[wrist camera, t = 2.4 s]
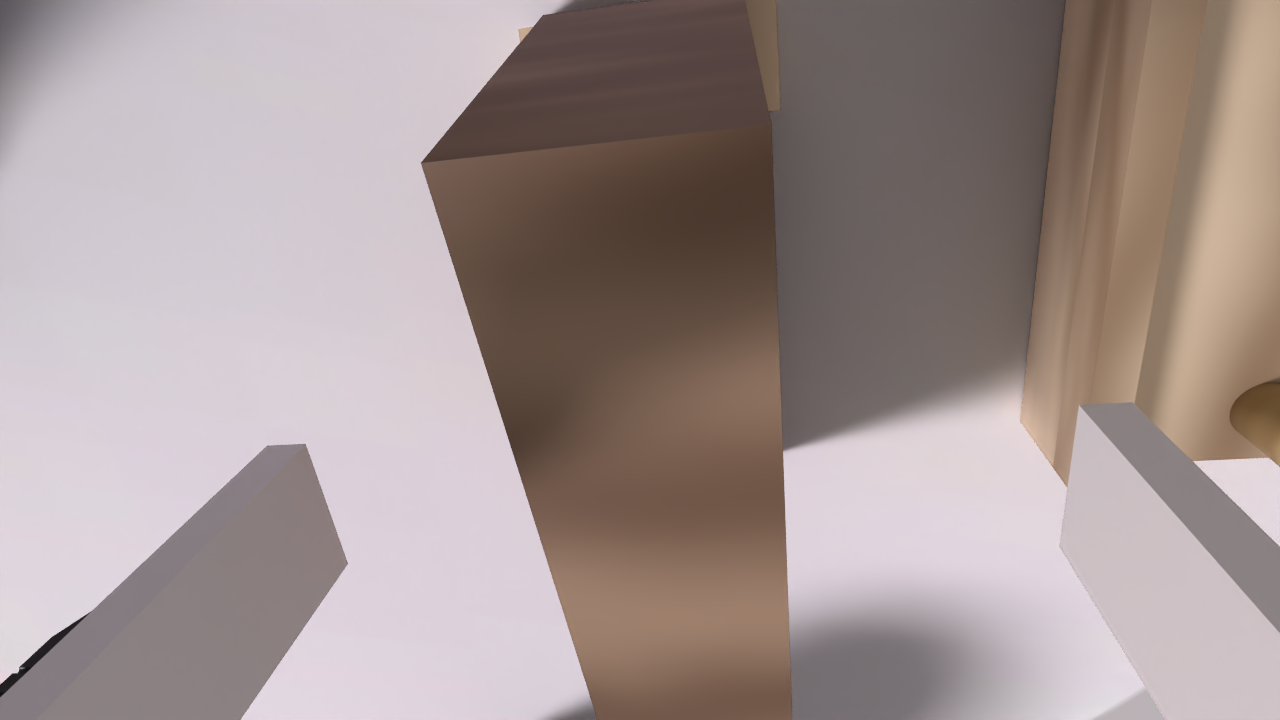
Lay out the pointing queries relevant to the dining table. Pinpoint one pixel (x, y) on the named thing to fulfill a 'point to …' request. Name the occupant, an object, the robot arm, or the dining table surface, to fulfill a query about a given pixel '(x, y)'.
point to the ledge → (1162, 228)
